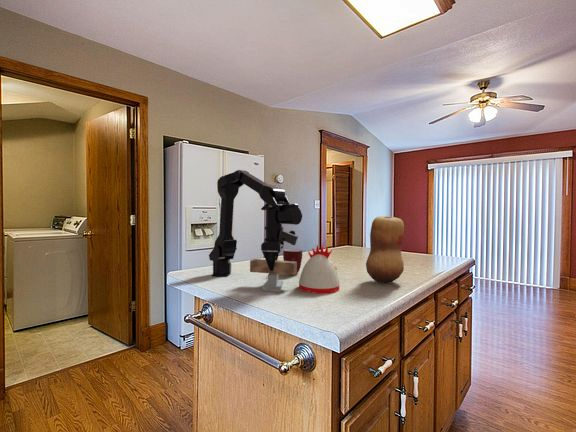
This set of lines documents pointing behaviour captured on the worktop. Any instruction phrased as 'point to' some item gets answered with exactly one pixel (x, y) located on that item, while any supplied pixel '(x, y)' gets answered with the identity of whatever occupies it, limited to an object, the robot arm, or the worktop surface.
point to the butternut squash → (385, 249)
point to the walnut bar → (279, 267)
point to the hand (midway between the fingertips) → (273, 268)
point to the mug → (293, 256)
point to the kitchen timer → (319, 274)
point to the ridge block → (272, 283)
